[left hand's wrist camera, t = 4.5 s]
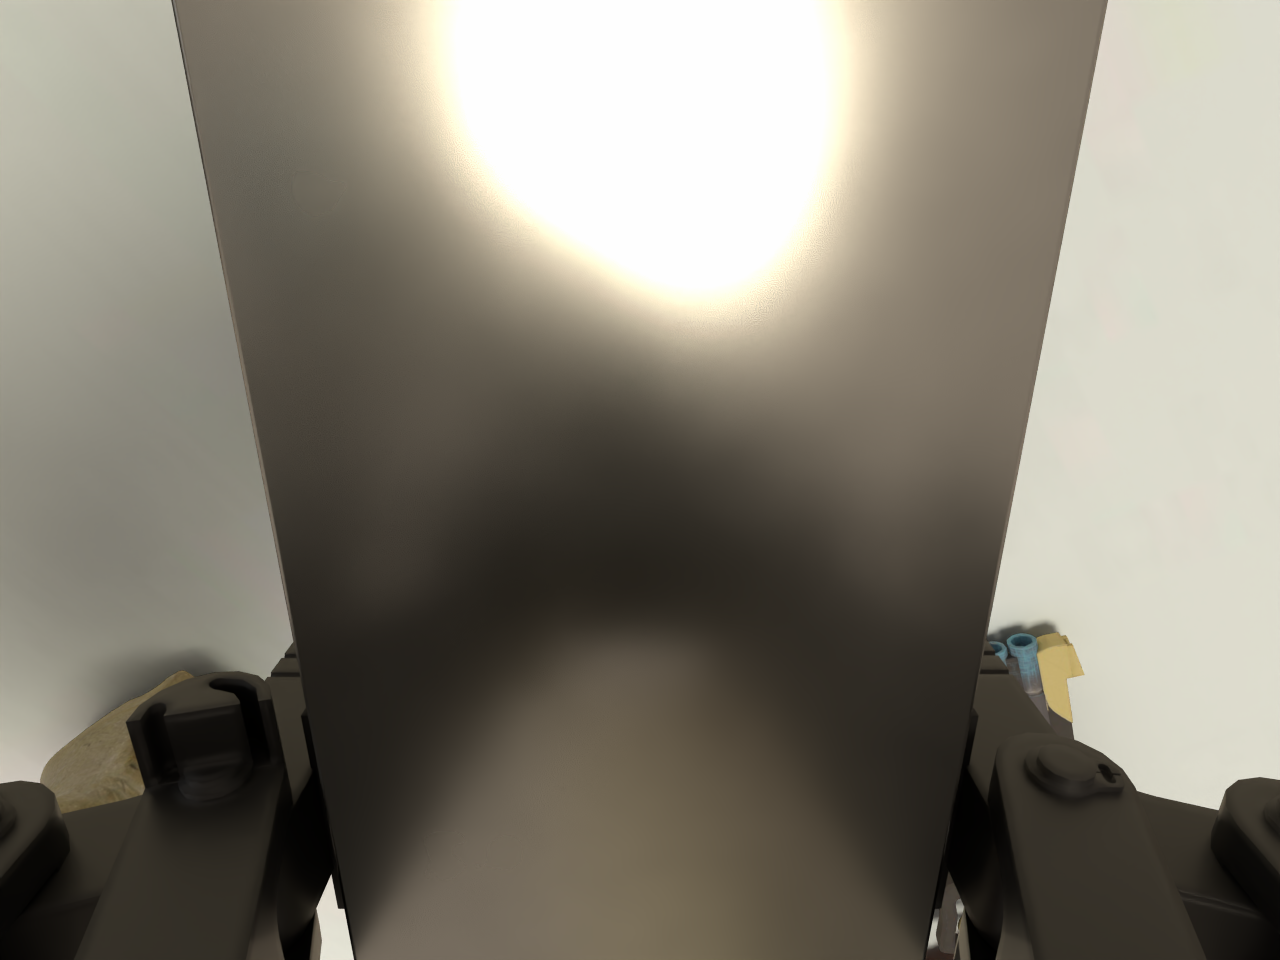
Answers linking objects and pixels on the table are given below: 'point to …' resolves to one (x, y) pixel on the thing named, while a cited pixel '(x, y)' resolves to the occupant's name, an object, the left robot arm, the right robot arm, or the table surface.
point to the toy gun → (1045, 682)
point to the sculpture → (100, 760)
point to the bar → (639, 441)
